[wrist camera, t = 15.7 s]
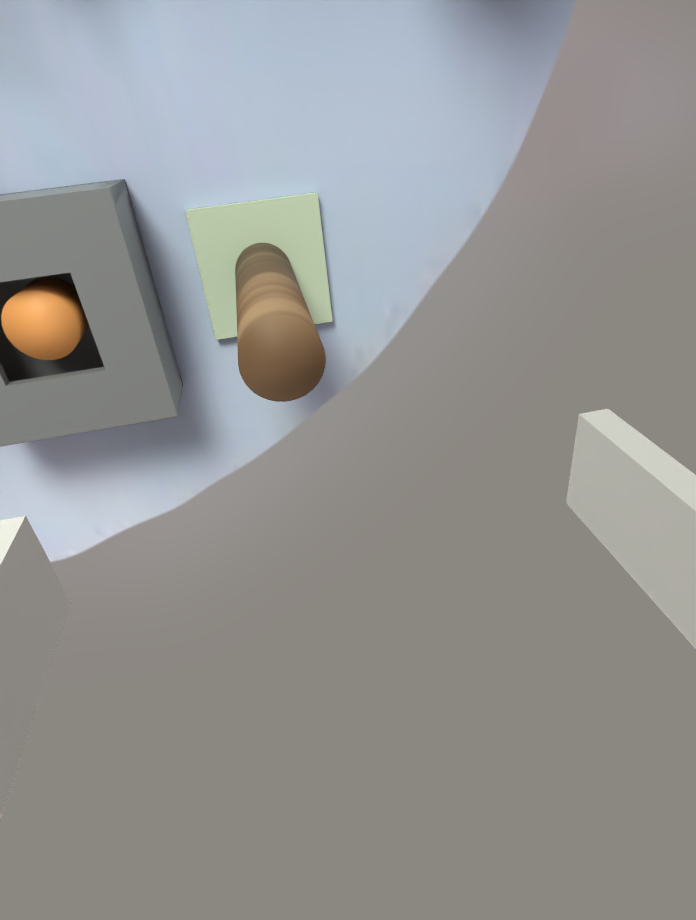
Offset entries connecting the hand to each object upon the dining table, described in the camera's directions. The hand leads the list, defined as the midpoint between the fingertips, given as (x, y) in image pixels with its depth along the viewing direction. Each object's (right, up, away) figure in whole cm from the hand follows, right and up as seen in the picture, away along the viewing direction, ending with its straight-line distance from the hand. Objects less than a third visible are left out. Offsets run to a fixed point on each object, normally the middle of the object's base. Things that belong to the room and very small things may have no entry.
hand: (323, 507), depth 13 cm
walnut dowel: (-5, +13, +22) cm, 26 cm away
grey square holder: (-18, +11, +21) cm, 30 cm away
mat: (-5, +14, +22) cm, 27 cm away
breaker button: (-17, +10, +20) cm, 29 cm away
